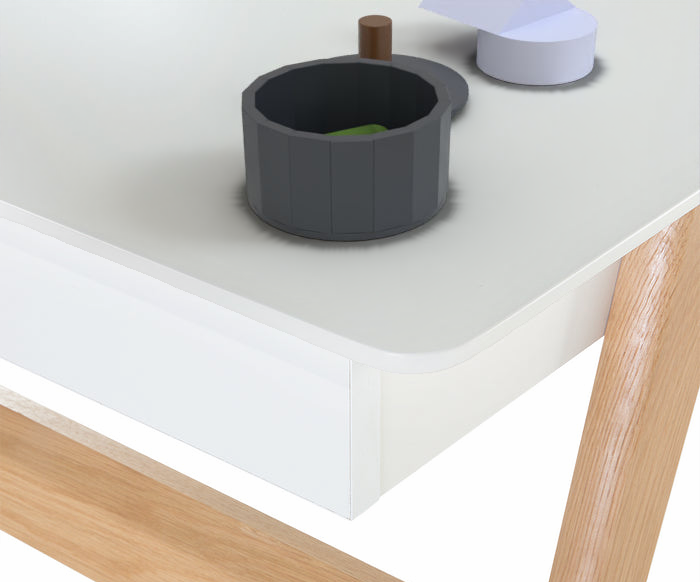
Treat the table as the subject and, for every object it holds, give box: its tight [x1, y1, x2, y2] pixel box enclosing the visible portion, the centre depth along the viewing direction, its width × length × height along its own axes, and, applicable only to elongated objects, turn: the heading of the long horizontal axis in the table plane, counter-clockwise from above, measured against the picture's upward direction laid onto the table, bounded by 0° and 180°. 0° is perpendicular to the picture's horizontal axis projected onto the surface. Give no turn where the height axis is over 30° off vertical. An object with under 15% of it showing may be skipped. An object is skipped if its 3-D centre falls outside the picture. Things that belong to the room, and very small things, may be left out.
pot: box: [240, 57, 452, 242], centre depth 77 cm, size 13×13×6 cm
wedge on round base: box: [418, 0, 598, 86], centre depth 95 cm, size 9×7×13 cm
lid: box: [327, 14, 470, 118], centre depth 88 cm, size 14×14×6 cm
